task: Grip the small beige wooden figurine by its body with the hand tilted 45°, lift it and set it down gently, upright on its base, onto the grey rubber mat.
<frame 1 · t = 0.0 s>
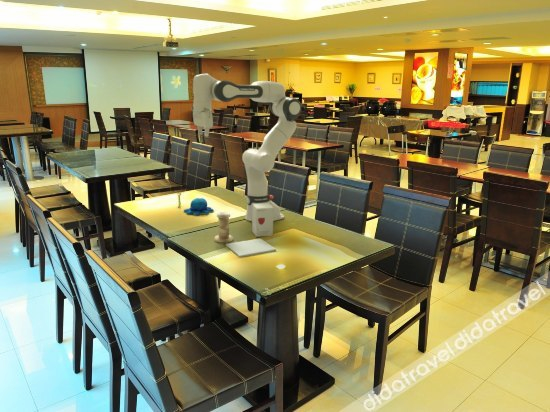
hand: (203, 135, 213), 48 cm above the table, tool pointing down, fingers open, 8 cm apart
plush toy: (198, 212, 251), on the table
grey rubber mat: (250, 248, 195), on the table
supplement box: (262, 234, 215), on the table
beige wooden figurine: (223, 239, 205), on the table
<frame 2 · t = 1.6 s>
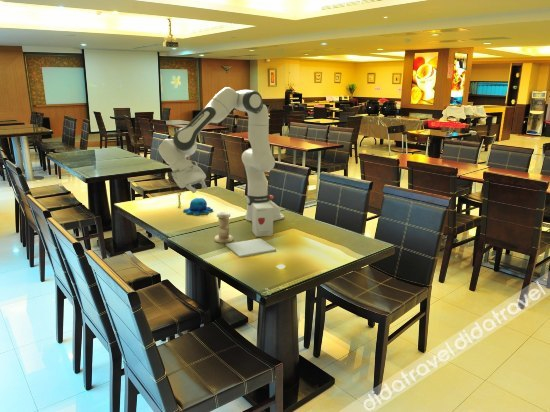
hand: (200, 190, 203), 23 cm above the table, tool tilted 45°, fingers open, 8 cm apart
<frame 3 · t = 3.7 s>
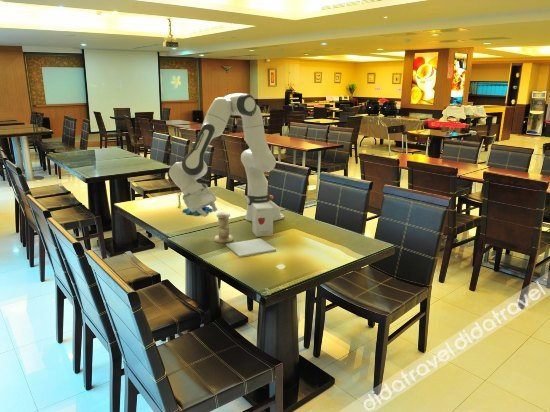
hand: (211, 213, 204), 13 cm above the table, tool tilted 45°, fingers open, 8 cm apart
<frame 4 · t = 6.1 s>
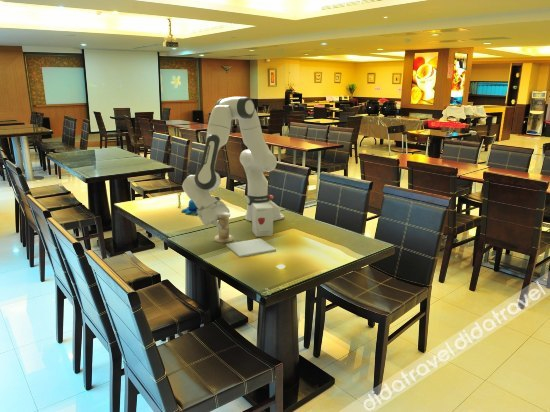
hand: (224, 226, 203), 7 cm above the table, tool tilted 45°, fingers closed on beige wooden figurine, 5 cm apart
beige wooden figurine: (223, 239, 205), on the table, touching gripper
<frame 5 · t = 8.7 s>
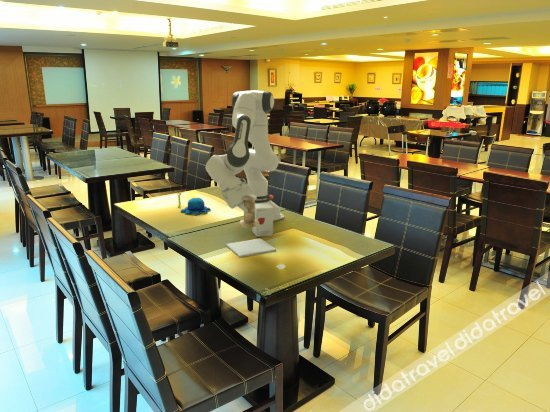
hand: (250, 209, 190), 19 cm above the table, tool tilted 45°, fingers closed on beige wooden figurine, 5 cm apart
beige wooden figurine: (249, 224, 192), point 12 cm above the table, touching gripper
when the fingers open (9 cm above the table, at t = 11.8 s): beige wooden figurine drops 1 cm, resting on grey rubber mat.
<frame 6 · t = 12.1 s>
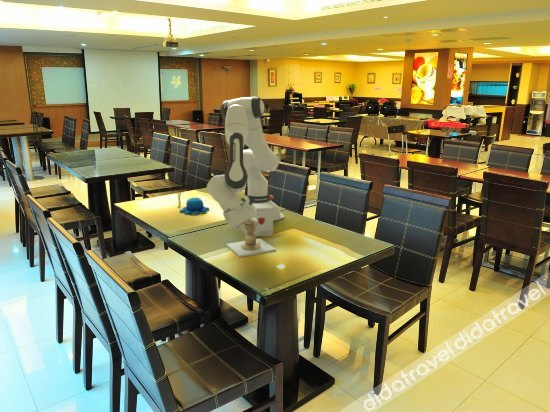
hand: (251, 229, 192), 9 cm above the table, tool tilted 45°, fingers open, 8 cm apart
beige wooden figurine: (250, 246, 195), point 1 cm above the table, touching grey rubber mat
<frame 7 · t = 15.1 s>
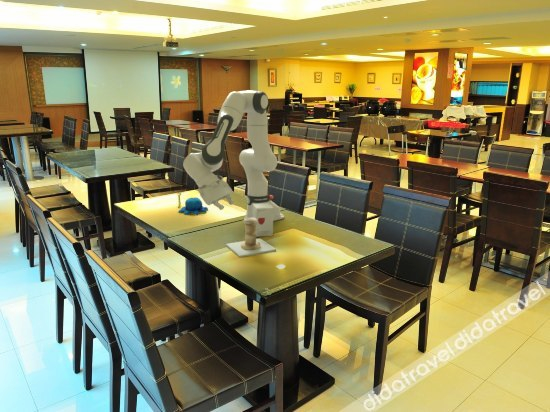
hand: (227, 206, 194), 19 cm above the table, tool tilted 45°, fingers open, 8 cm apart
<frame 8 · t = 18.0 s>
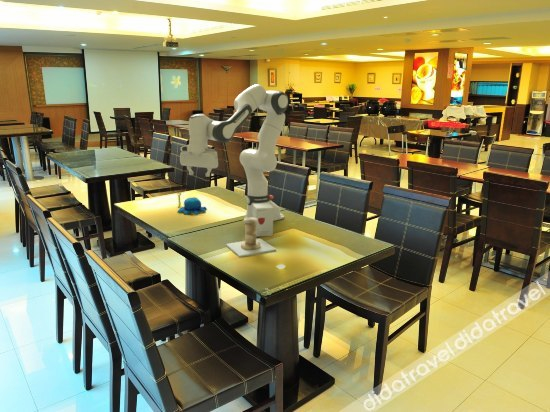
hand: (199, 175, 209), 29 cm above the table, tool pointing down, fingers open, 8 cm apart
at the end: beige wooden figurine inside the target area on the grey rubber mat (0.1 cm from its centre), point 0.9 cm above the grey rubber mat's base; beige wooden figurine tilted 1°; the gripper is holding nothing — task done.
